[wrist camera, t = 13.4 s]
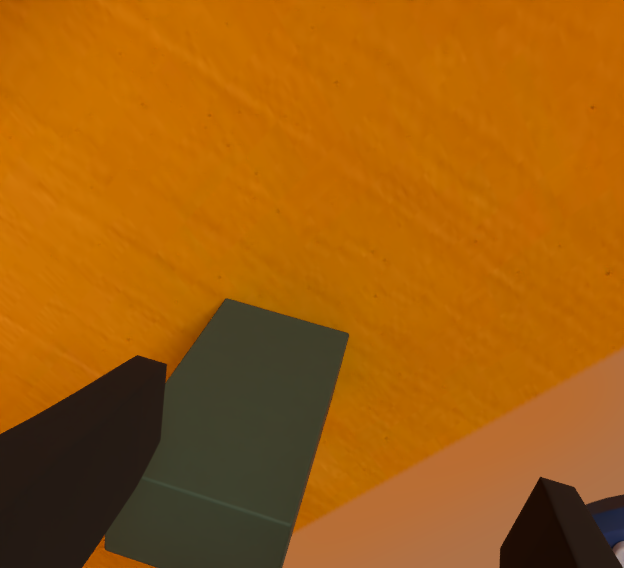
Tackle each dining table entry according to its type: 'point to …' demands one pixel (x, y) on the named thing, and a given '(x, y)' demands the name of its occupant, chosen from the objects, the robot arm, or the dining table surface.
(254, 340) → the carton
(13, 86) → the dining table surface
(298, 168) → the dining table surface
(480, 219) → the dining table surface
